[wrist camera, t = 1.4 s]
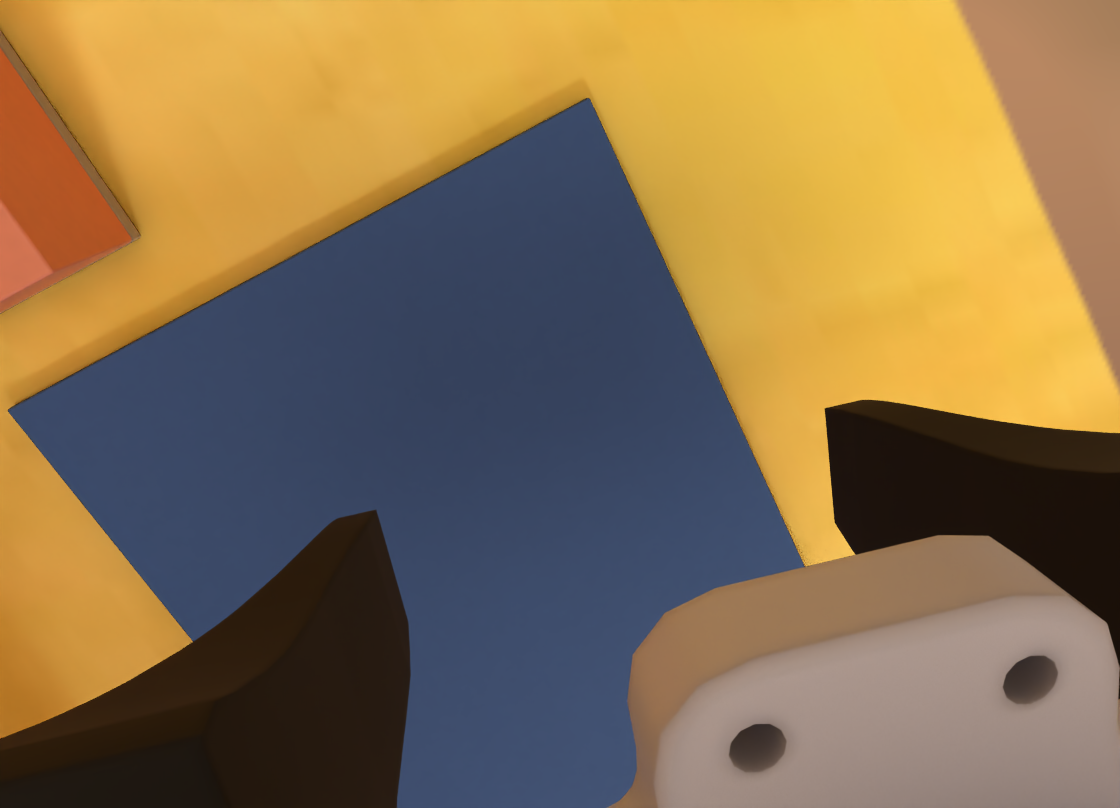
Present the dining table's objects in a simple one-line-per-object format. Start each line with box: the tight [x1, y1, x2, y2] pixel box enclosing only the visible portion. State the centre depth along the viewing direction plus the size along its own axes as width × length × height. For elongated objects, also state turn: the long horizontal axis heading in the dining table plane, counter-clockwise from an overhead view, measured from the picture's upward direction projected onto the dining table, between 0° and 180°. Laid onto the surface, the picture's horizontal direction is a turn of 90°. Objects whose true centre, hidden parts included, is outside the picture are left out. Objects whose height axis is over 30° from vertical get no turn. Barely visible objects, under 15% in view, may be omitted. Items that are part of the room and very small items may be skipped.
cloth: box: [8, 98, 805, 808], centre depth 24 cm, size 16×20×1 cm
